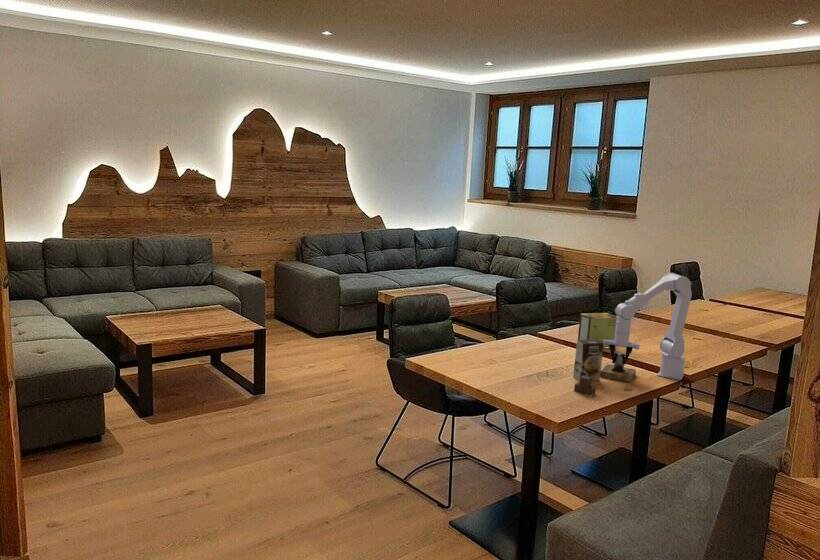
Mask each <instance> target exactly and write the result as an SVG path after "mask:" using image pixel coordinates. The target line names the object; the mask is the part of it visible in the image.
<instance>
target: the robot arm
mask: <svg viewBox="0 0 820 560" xmlns="http://www.w3.org/2000/svg"><path fill="white" fill-rule="evenodd" d="M691 287H692V281H691V280H690V279H689V277H687V276H684V275H681V274H677V273H674V272H668V273H666V275H664V276H662V277H661V279H660V280H659V281H658V282H655V284H654V285H652V286H651V287H649V289H647V290H646V291H644V293H643V292H638V293H635V294H633V296H632V297H631V298H629V299H628V300H625V302H621V303H619V304H618V305H617V306H616V307H615V308H614V312H615V315H616V317H617V321H616V330H615V340H605V339H604V340H603V343H604V345H609V348H608V350H609V353H610V356H611V362H612V364H614V359H615V353H616V348H617V347H619V348H620V347H621V348H625V353H624V354H625V360H624V366H626V365H627V361H628V359H629V357H630V355H631V354H632V352H633V349H635V350H640V345H641V344H640V343H635V342H631V341H630V335H631V333H630V332H631V326H632V325H631V324H632V319H633V318H634V316H635V315H636V313H637V312H638V311H640V310H642V309H643V308H644V307H645V306H647V305H648V304H649V300H651V299H652V298H655V297H656V296H658V295H660V294H661V293H663V292H665V291H672V292H673V293H674V294H675V296H676V300H675V303H674V306H673V307H674V308H673V311H672V316H671V320H670V323H669V324H670V325H669V329H668V331H667V332H666V333H665V334H663V337H662V339H661V341H660V342H659V349H660V350H661V359H660V360H661V361H660V369H659V371H658V373H657V376H658V377H664V378H667V379H672V380H673V379H674V380H679V381H681V380H682V379H683V377H684V376H685V375H684V374H685V367H686V365H685V364H686V358H685V357H682V356H683V355H684V353H685V342H686V341H685V339H684V337H683V332H684V328H685V324H686V321H687V316H688V313H689V309H690V303H691V300H692V297H693V295H692V294H693V293H692V289H691Z"/></svg>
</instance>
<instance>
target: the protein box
mask: <svg viewBox="0 0 820 560" xmlns="http://www.w3.org/2000/svg"><path fill="white" fill-rule="evenodd" d="M616 321H617V316H615V315H613V314H610V313H609V312H592V313H591V312H590V313H586V312H585V313H580V314H579V324H578V335H577V340H597V341H600V342H602V343H603V340H604V339H605V340H615V330H616ZM605 347H609V345H603V348H605ZM605 349H606V348H605Z"/></svg>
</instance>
